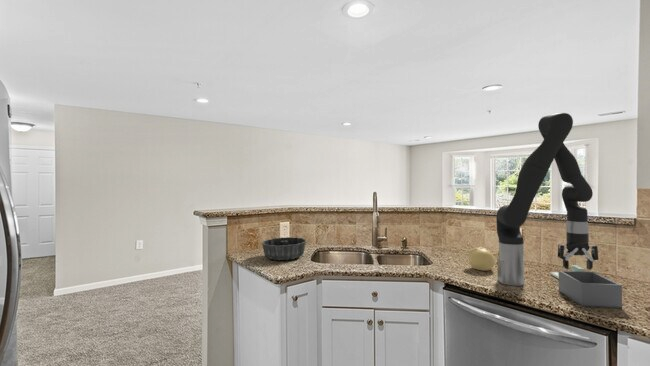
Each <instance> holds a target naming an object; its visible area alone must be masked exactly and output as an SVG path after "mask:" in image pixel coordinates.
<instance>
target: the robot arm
mask: <svg viewBox="0 0 650 366" xmlns="http://www.w3.org/2000/svg"><path fill="white" fill-rule="evenodd" d="M573 125H574V119H573V116H572V115H571V114H570V113H568V112H558V113H551V114H545V115H544V116H542V117H541V118H540V119H539V121H538V130H539V133H540V135H541V137H542V139H543V141H542V142H541V143H540V145H539V146H537V148H536V149H535V150H534V151H532V153H531V154H530V155H528V157H527V158H526V159H525V161H524V163H523V164H522V166H521V169H520V170H519V173H518V175H517V179H516V180H517V181H516V188H515V193H514V195H513V197H512V199H511V201H510V202H509V204H505V205H502V206H501V207H500V208H498V209H497V212H496V235H497V237H498V251H499V257H498V258H497V280H498V282H500V283H501V284H502V285H507V286H515V287H518V286H523V285H524V284H525V259H524V255H525V254H524V253H525V252H524V247H525V246H524V245H525V244H524V237H523V235H522V233H521V228H520V227H522V226H523V225H524V224H525V223H526V220H527V218H528V215H529V213H530V210H531V206H532V204H533V202H534V199H535V197H536V195H537V193H538V191H539V190H540V188H541V186H542V184H543V182H544V181H545V178H546V176H547V174H548V172H549V170H550V168H551V165H552V164H553V161H554V162H555V164H556V166H557V169H558V173H559V175H560V179H561V181H562V182H564V183H566V184H567V183H568V184H569V185H566V186H564V187H563V188H562V191H561V198H562V201H563V204H564V206H565V209H566V210H565V211H566V224H565V225H566V226H565V227H566V228H565V231H566V232H565V233H566V244H558V245H557V258H559V259H562V267H563V268H564V269H566V270H569V265H570V263H569V259H570V258H572V257H573V256H580V257H581V256H582V257H583V256H584V257H585V259H586V269H587V270H588V271H592V269H593V267H594V261H598V260H599V249H598V246H597V245H594V244H591V245H589V240H590V239H589V237H590V236H589V233H590V232H589V229H590V228H589V223H588V222H589V221H588V216H589V214H588V210H587V208H585V207H583V206H580V205H579V204H578V202H579V203H588V202H589V201H591V199H592V198H593V194H594V193H593V190H592V187H591V185H590V184H589V182H588V181H587V180H586V178H585V177H584V176H583V175H582V172H581V170H580V166H579V163H578V161H577V159H576V157H575V156H574V154H573V153H572V152H571V151H570V150H569V148H568V147H567V146H566V145H565V143H564V142H565V140H566V138H567V137H568V136H569V135H570V133H571V131H572V129H573V127H574V126H573ZM565 250H566V252H565ZM589 250H590V252H591V255H590V253H589V252H588V251H589Z"/></svg>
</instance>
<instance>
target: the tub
mask: <svg viewBox="0 0 650 366" xmlns="http://www.w3.org/2000/svg"><path fill="white" fill-rule="evenodd" d="M558 272H559V279H558V292H560V293H561V294H563V295H564V296H566V297H567V298H569V299H570V300H572V301H574V302H575V303H576V304H577V305H579V306H581V307H583V308H584V307H587V308H589V307H590V308H601V309H602V308H604V309H605V308H606V309H623V285H622V284H620V283H618V282H616V281H614V280H612V279H610V278H607V277H605V276H604V275H601V274H599V273H597V272H595V271H584V272H582V271H571V270H558Z"/></svg>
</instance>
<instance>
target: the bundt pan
mask: <svg viewBox="0 0 650 366" xmlns="http://www.w3.org/2000/svg"><path fill="white" fill-rule="evenodd" d="M306 242H307V239H305V238H303V237H290V236H287V237H275V238H271V239H266V240H264V241H262V242H261V245H262V249H263V253H264V256H265V258H268V259H270V260H272V259H273V261H275V260H277V261H280V260H282V261H284V260H285V261H289V260H295V258H296V259H299V258H300V257H302V256H303V255H304V253H305V247H306Z"/></svg>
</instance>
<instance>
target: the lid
mask: <svg viewBox="0 0 650 366" xmlns="http://www.w3.org/2000/svg"><path fill="white" fill-rule="evenodd" d="M570 267H571V268H570V271H582V272H585V268H583V267H581V266H579V265H577V264H571V266H570ZM550 275H551V276H553V277H554V278H556V279H557V280H559V271H558V272H557V271H556V272H555V271H550Z"/></svg>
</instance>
